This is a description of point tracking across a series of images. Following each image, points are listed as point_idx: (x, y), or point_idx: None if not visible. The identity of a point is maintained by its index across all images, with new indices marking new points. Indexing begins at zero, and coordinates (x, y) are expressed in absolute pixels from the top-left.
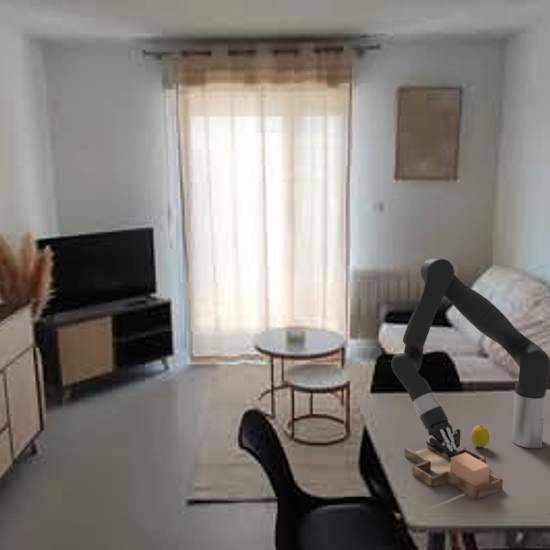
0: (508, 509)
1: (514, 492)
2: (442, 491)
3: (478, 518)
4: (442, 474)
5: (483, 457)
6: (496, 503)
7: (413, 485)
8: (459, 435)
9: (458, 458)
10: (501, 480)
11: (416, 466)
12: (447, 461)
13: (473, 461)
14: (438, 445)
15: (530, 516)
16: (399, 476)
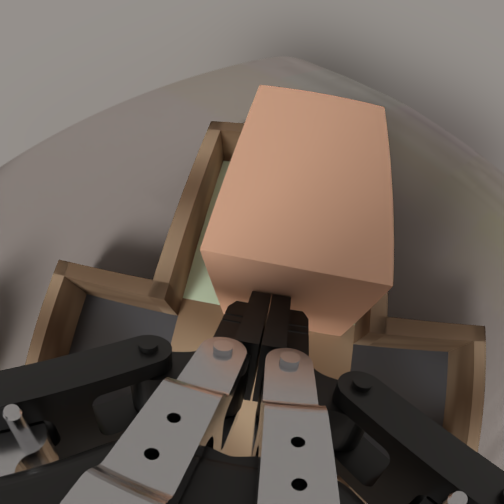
0: None
1: (203, 126)
2: (437, 296)
3: (429, 137)
4: (420, 326)
5: (55, 275)
6: None
7: (494, 407)
8: (25, 372)
9: (350, 232)
10: (218, 122)
11: None
12: None
13: (290, 146)
14: (444, 430)
15: (294, 70)
16: None
